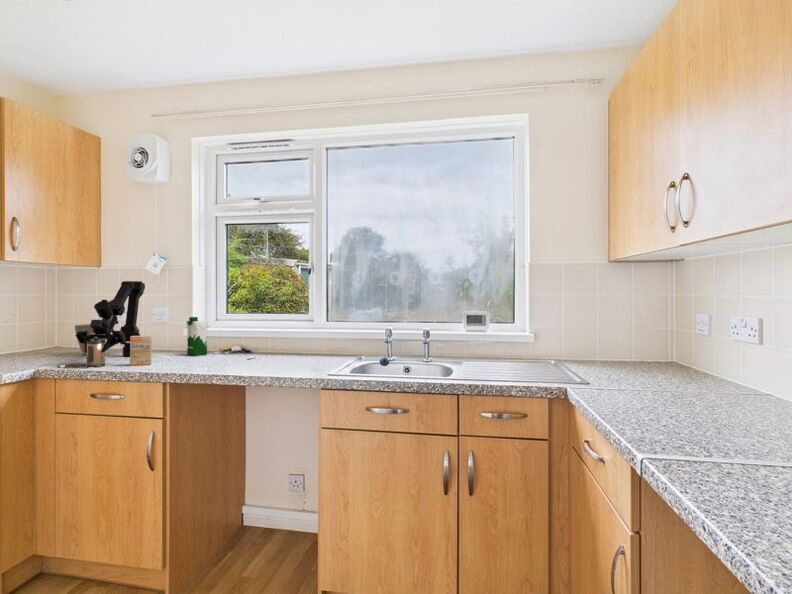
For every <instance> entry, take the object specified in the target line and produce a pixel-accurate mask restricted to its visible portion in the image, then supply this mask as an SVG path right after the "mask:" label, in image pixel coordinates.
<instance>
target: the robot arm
mask: <svg viewBox="0 0 792 594" xmlns="http://www.w3.org/2000/svg"><path fill="white" fill-rule="evenodd" d="M145 289H146V285H145V283H144V282H143V281H141V280H140V281H139V280H138V281H137V280H136V281H135V280H123V281H121V283H120V287H119V289H118V290H117V292H116V293H115V295H114V298H113V299H111V300H109V301H108V299H102V300H101V301H99V302H96V303H95V304H94V306H93V307H94V309H95V312H96V313H97V316H98V317H99V318H101V319H91V321H90V327H91V328H93V332H95V334H89V332H88V331H78V332H77V333H76V332H75V335H74V336H75V338H76V340H77V339H78V340H79V342H80V343H85V352H87V343H86V342H87V341H91V340H92V339H93V338H94V337H95V336H97V337H98V339H106V341H105V345H104V347H103V349H102V352H105V353H106V351H108V350H109V349H111V348H112V347H114V346H116V345H119V344H120V345H122V346H123V347H122V356H123V357H125V358H126V357H127V358H128V357H129V358H130V337H131V336H141V334H140V329H139V328H138V326H137V320H138V312H139V302H140V298H141V297H142V296H143V295H144V292H145ZM127 299H128V301H127ZM126 301H127V307H125V304H126ZM126 308H127V309H126ZM125 312H126V318H125V324H124V325H122V326H121V327H120V330H115V329H114V328H115V325H119V320H118V319H119V318H118V316H123V314H124V313H125ZM78 340H77V341H78Z"/></svg>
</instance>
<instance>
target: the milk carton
mask: <svg viewBox="0 0 792 594" xmlns="http://www.w3.org/2000/svg"><path fill="white" fill-rule="evenodd" d="M198 319H199V318H198V317H197V316H189V319H188V320H186V321H185V323H186V329H187V330H186V331H187V346H186V347H187V348H186V349H187V352H186V356H188V355H190V357H199V356H198V355H202V356H207V355H208V343H207V342H208V339H207V338H208V331H207V330H208V323H209V321H208V320H198ZM206 354H207V355H206Z"/></svg>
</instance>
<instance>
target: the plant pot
mask: <svg viewBox="0 0 792 594" xmlns="http://www.w3.org/2000/svg"><path fill="white" fill-rule="evenodd" d="M90 324H91V323H90ZM90 324H89V323H88V324H87V323H86V324H75V325H74V331H75V334H76V333H77V332H78V331H88V332H89V334H95V332H93V328H91V327H90ZM76 340H77V343H78V345H79V347H80V351H81V353H82V355H83V356H84V355H87V352H85V343H80V342H79V340H78V339H77V338H76ZM98 340H104V341H105V342H106V341H107V339H98ZM91 341H95V340H94V339H92V340H91Z"/></svg>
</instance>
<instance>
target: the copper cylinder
mask: <svg viewBox="0 0 792 594" xmlns="http://www.w3.org/2000/svg"><path fill="white" fill-rule="evenodd" d="M93 339H94V340H95V341H87V342H86V343H87V356H86V368H88V367H94V368H102V366H103V367H105V366H106V351H105V352H102V349H103V347H104V345H105V343H106V341H104V340H98V337H97V336H95V337H94V338H93Z"/></svg>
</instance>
